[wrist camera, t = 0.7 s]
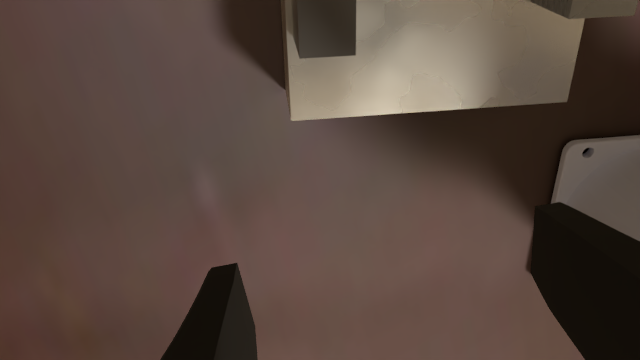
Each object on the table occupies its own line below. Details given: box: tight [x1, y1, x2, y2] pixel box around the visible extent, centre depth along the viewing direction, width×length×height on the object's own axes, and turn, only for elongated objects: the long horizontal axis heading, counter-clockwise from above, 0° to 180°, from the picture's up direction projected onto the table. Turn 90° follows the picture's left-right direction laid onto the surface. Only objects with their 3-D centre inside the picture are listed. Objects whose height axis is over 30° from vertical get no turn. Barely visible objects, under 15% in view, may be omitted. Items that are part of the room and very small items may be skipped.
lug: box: [291, 0, 356, 59], centre depth 16 cm, size 2×2×2 cm
